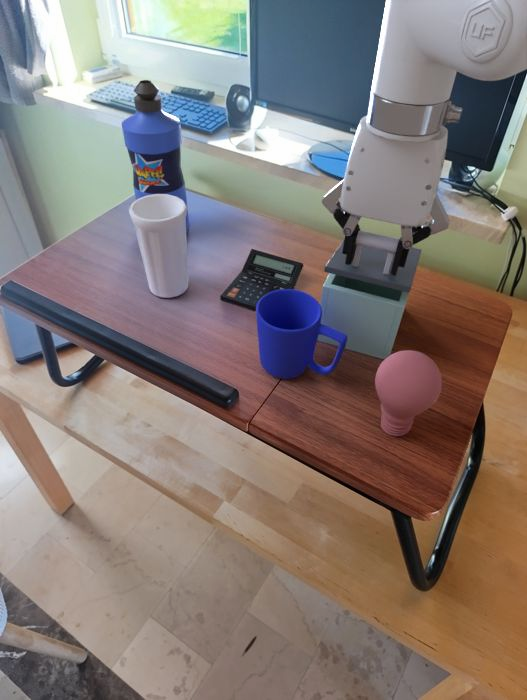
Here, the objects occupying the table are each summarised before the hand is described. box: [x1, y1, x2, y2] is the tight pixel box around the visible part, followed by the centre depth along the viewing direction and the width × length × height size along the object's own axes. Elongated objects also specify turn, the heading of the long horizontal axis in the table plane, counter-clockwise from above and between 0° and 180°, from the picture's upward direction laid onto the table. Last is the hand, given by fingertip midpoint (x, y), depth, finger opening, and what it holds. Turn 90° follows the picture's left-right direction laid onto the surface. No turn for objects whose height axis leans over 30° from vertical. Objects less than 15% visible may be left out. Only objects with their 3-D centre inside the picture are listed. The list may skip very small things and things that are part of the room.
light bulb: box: [374, 349, 443, 437], centre depth 55 cm, size 7×7×12 cm
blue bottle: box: [121, 79, 190, 233], centre depth 81 cm, size 9×9×25 cm
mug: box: [255, 289, 348, 380], centre depth 62 cm, size 8×12×10 cm
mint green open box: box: [317, 273, 410, 361], centre depth 69 cm, size 13×11×10 cm
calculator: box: [219, 248, 304, 312], centre depth 77 cm, size 9×12×3 cm
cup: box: [128, 194, 189, 299], centre depth 72 cm, size 8×8×14 cm
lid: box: [323, 229, 422, 294], centre depth 63 cm, size 14×11×5 cm
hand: (372, 263), depth 60 cm, fingers closed on lid, 5 cm apart
